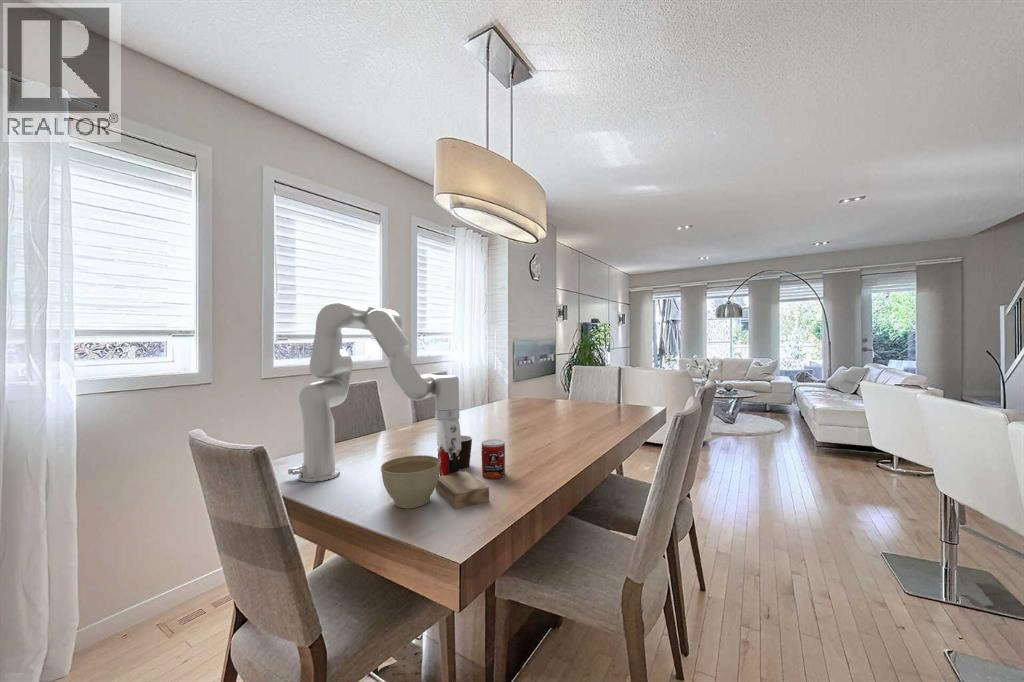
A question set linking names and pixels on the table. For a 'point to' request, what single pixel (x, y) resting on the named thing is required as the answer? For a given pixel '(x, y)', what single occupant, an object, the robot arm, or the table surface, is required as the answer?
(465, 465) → the coffee mug
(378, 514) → the table surface
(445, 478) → the wooden tray
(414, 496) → the planter bowl
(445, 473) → the soda can
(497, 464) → the canned food
